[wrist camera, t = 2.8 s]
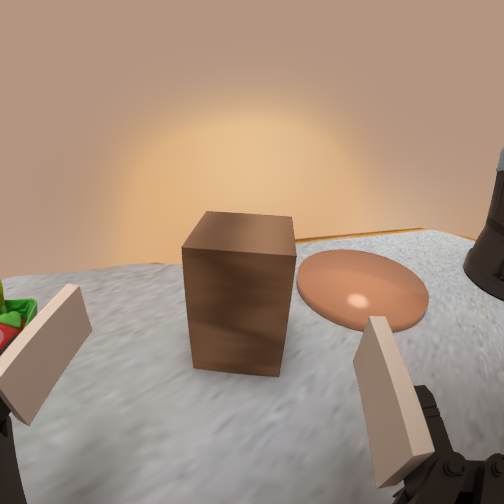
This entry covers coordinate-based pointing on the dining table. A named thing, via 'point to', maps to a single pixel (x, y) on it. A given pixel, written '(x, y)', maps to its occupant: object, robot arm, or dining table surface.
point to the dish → (361, 289)
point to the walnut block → (239, 291)
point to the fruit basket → (14, 316)
